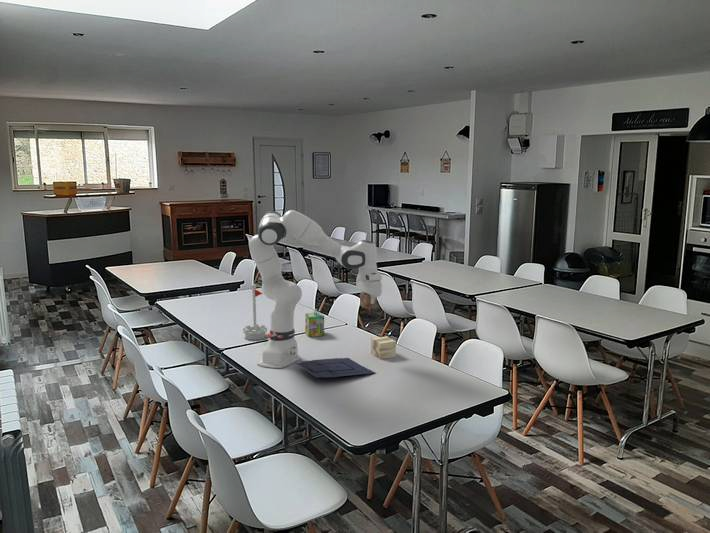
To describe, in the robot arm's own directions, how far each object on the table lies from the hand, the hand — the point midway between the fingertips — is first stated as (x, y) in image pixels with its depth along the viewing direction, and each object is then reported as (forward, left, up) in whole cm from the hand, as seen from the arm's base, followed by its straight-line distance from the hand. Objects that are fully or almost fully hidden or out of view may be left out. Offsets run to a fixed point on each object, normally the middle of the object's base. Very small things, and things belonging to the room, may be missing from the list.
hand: (368, 301), depth 256 cm
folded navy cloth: (-24, +9, -28) cm, 38 cm away
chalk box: (+27, +40, -28) cm, 56 cm away
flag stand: (+13, +70, -28) cm, 76 cm away
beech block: (+6, -6, -28) cm, 29 cm away
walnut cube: (0, 0, -2) cm, 2 cm away
